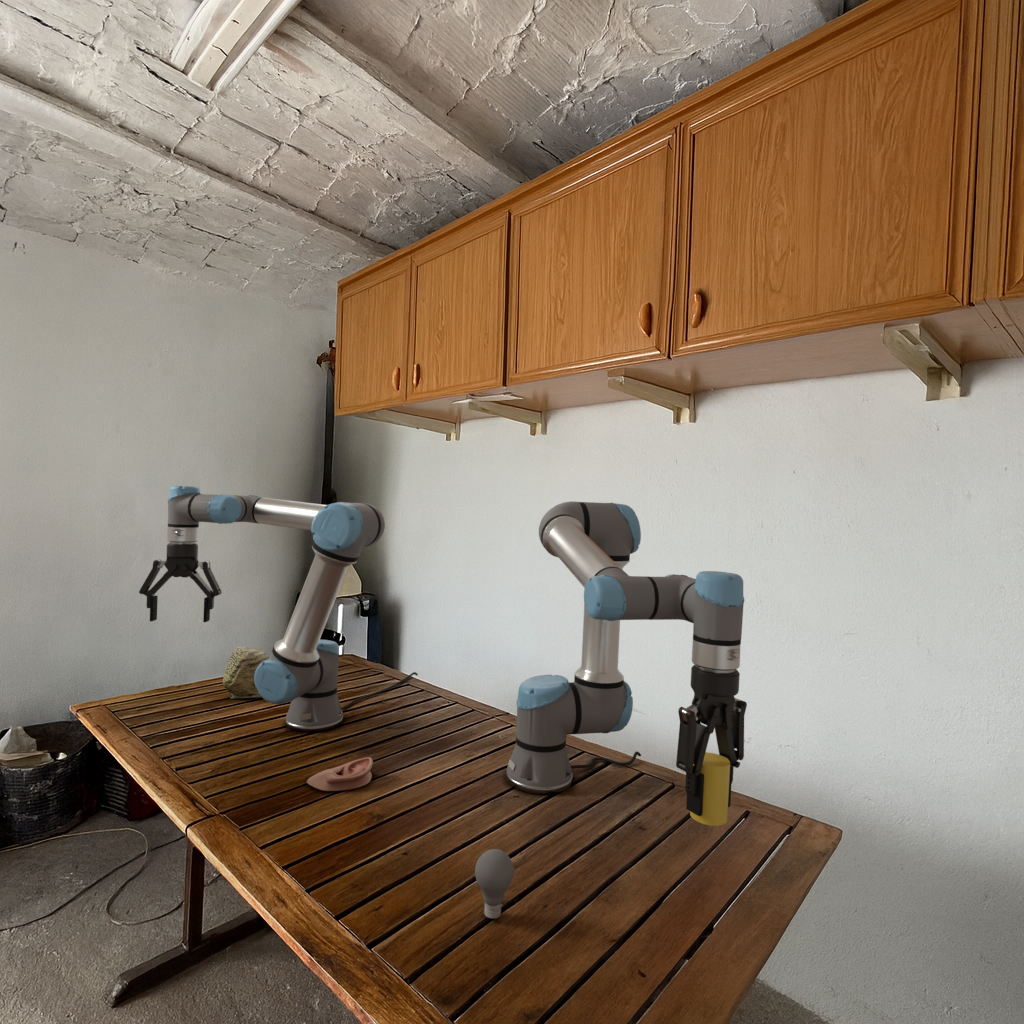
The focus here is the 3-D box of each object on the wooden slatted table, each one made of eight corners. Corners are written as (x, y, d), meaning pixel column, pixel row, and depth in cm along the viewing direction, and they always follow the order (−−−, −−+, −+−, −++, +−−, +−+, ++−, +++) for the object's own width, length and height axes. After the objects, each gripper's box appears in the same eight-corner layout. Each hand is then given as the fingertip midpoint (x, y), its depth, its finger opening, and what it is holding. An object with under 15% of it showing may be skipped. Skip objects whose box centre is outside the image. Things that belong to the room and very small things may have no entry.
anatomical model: (300, 769, 137) (326, 749, 148) (299, 787, 137) (325, 766, 148) (357, 777, 134) (379, 756, 146) (356, 796, 134) (378, 773, 146)
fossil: (218, 695, 195) (220, 647, 195) (278, 685, 208) (279, 640, 207) (228, 703, 189) (230, 653, 188) (289, 692, 201) (290, 645, 201)
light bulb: (472, 903, 100) (475, 841, 100) (510, 903, 101) (513, 841, 101) (473, 929, 94) (476, 863, 94) (513, 928, 95) (516, 862, 95)
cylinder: (696, 804, 108) (699, 749, 107) (731, 815, 104) (734, 758, 104) (684, 818, 103) (687, 760, 103) (721, 830, 100) (724, 770, 99)
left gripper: (126, 542, 166) (124, 622, 166) (226, 545, 170) (224, 624, 170) (139, 540, 173) (136, 617, 174) (235, 543, 177) (232, 618, 177)
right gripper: (691, 679, 95) (683, 831, 96) (772, 667, 105) (765, 805, 105) (656, 667, 102) (649, 809, 102) (735, 656, 111) (729, 787, 112)
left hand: (180, 620), depth 172 cm, fingers open, 13 cm apart
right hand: (708, 807), depth 104 cm, fingers closed on cylinder, 6 cm apart
